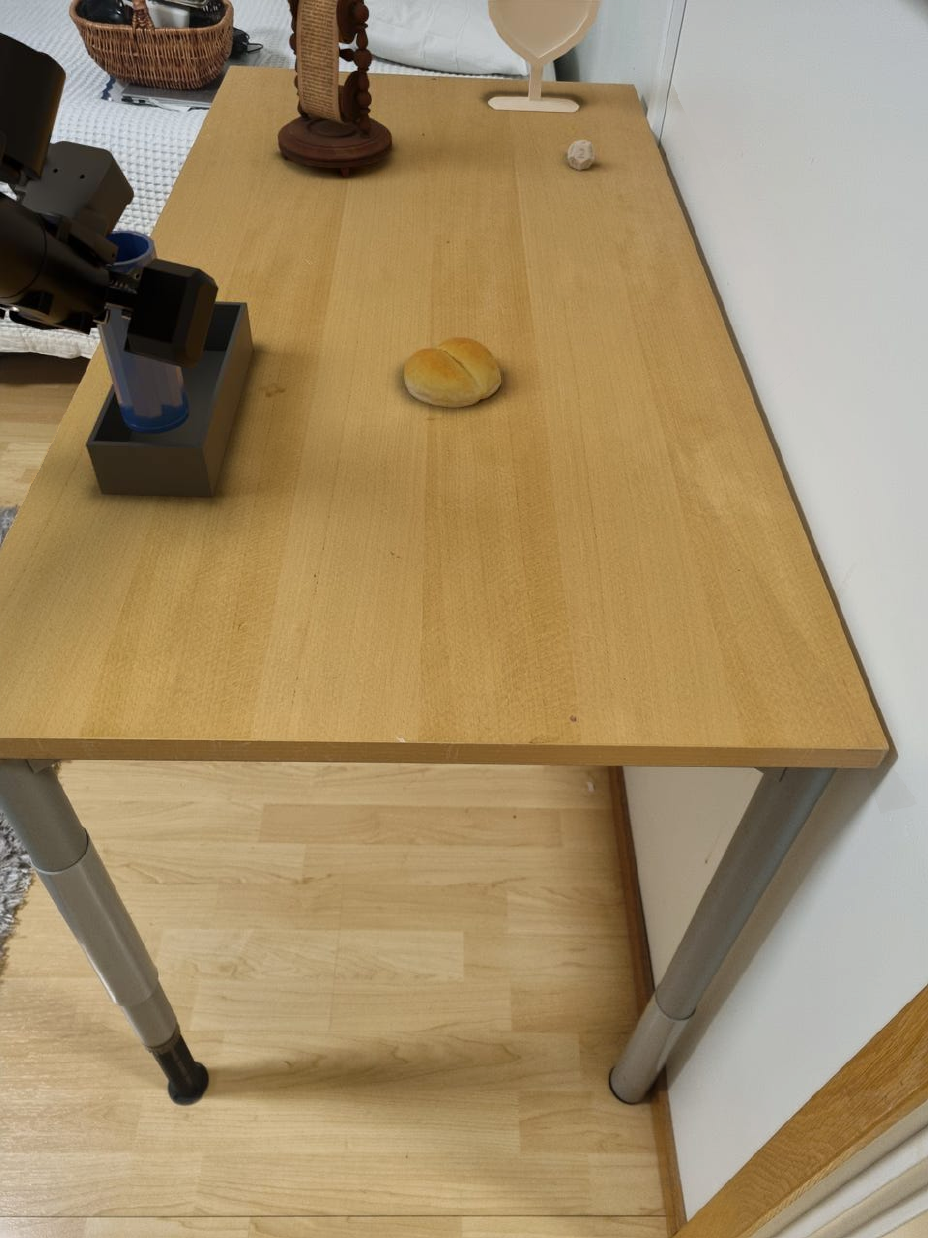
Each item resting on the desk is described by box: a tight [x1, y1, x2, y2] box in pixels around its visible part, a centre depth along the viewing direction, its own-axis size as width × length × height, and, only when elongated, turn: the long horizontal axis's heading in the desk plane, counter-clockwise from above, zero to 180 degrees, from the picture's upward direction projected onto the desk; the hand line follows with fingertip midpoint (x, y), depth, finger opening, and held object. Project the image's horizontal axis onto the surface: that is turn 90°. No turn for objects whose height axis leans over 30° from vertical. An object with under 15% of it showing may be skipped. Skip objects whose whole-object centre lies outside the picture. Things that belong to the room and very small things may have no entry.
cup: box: [96, 229, 190, 434], centre depth 70 cm, size 5×5×14 cm
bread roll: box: [403, 336, 502, 409], centre depth 87 cm, size 8×9×4 cm
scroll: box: [277, 0, 393, 178], centre depth 115 cm, size 15×15×20 cm
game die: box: [567, 139, 596, 171], centre depth 123 cm, size 4×4×3 cm
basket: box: [85, 300, 255, 498], centre depth 82 cm, size 22×9×6 cm, turn 0°
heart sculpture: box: [487, 0, 602, 114], centre depth 131 cm, size 16×5×18 cm, turn 91°
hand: (148, 327), depth 71 cm, fingers closed on cup, 5 cm apart
